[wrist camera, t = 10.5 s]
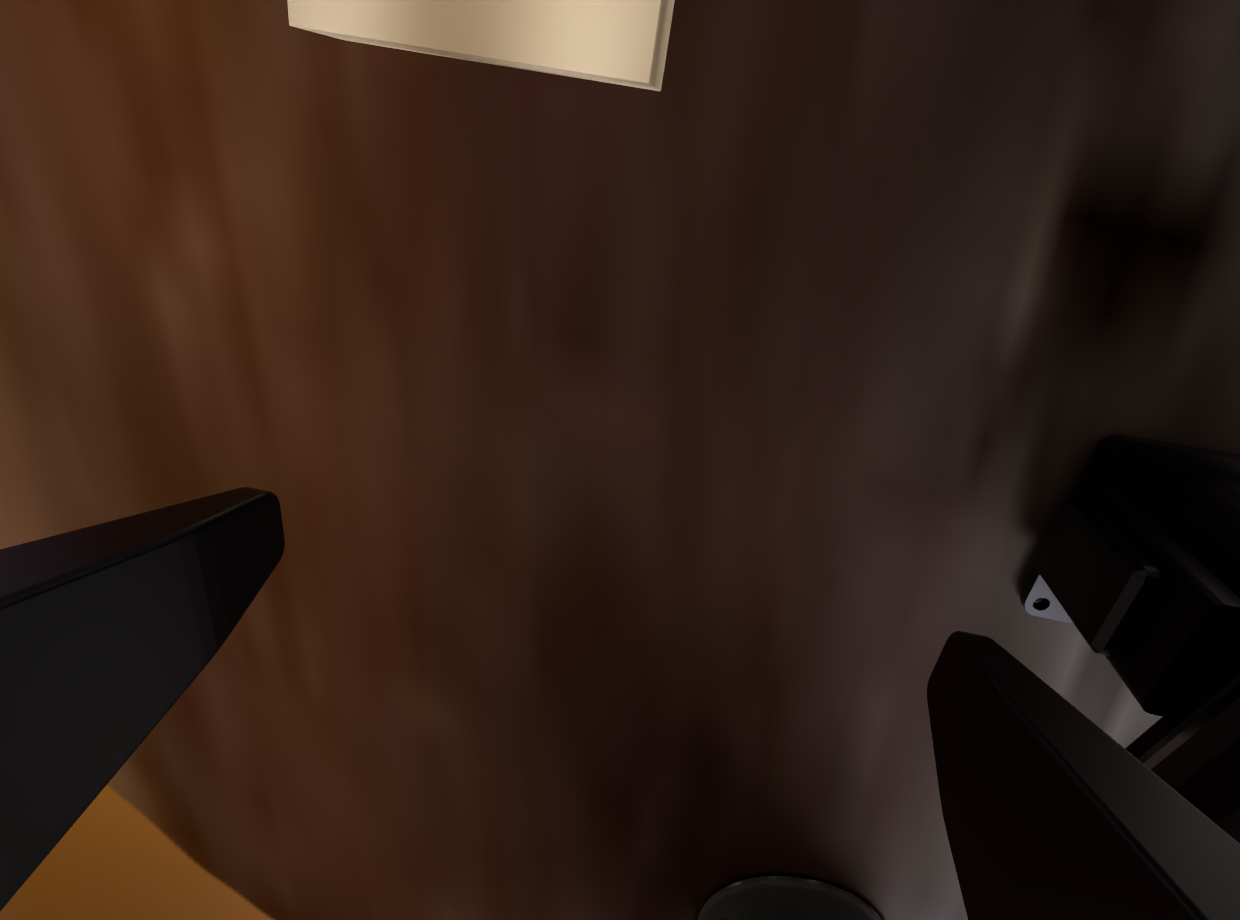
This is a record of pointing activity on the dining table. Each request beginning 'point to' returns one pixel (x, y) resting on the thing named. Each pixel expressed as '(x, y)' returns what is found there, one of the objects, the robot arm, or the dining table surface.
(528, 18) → the block
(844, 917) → the milk frother
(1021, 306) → the dining table surface
